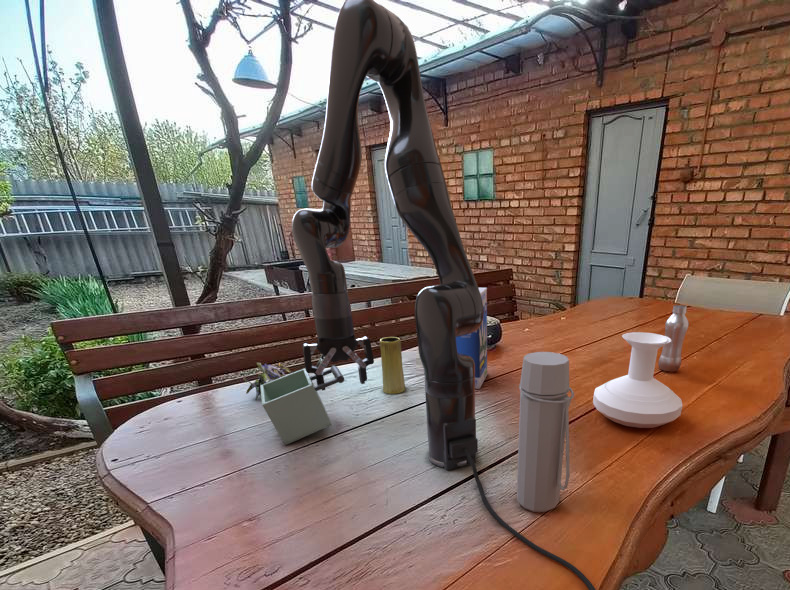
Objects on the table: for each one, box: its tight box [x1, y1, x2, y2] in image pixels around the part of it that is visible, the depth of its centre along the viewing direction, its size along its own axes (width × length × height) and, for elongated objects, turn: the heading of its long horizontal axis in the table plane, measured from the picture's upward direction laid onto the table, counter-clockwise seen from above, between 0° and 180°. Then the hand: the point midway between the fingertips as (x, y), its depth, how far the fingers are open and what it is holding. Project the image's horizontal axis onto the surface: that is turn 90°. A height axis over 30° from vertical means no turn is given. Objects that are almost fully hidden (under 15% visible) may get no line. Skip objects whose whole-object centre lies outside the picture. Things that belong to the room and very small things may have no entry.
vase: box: [379, 336, 407, 395], centre depth 114 cm, size 6×6×14 cm
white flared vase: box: [592, 331, 683, 429], centre depth 98 cm, size 20×20×19 cm
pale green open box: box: [260, 365, 345, 446], centre depth 93 cm, size 12×16×10 cm
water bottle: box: [516, 351, 575, 513], centre depth 65 cm, size 9×8×25 cm
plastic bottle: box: [657, 304, 690, 372], centre depth 129 cm, size 6×7×20 cm
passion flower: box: [242, 362, 293, 401], centre depth 110 cm, size 11×11×12 cm
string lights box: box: [456, 287, 488, 390], centre depth 119 cm, size 13×8×26 cm, turn 171°
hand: (343, 386), depth 95 cm, fingers open, 8 cm apart
